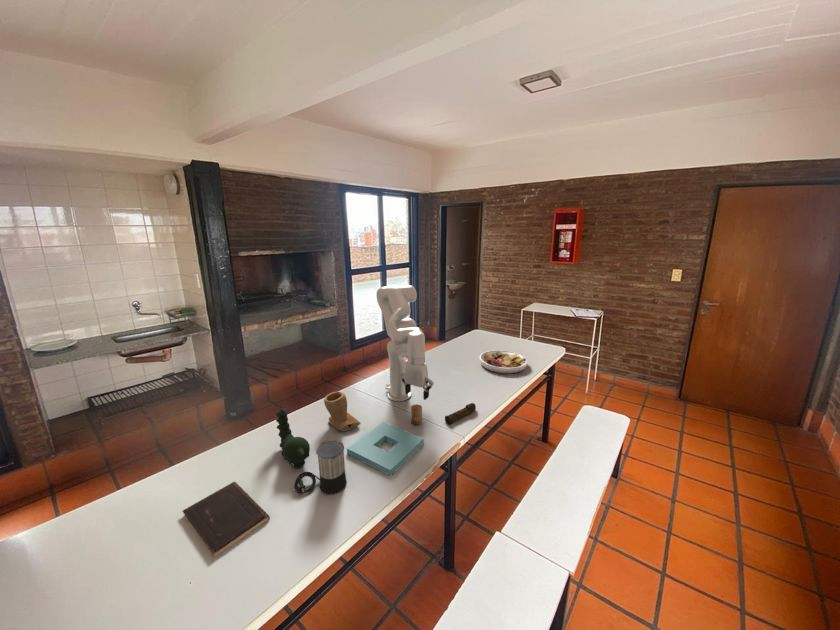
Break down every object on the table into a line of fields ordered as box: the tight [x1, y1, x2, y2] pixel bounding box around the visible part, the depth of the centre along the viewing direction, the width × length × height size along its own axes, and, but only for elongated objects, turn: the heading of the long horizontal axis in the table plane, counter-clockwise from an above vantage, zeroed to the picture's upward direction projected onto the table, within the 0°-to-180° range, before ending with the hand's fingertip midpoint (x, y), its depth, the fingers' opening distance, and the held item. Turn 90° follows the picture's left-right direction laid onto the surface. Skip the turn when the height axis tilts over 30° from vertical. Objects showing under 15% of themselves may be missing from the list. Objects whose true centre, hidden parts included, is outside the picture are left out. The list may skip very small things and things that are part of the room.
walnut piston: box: [410, 404, 423, 427], centre depth 152 cm, size 5×5×8 cm
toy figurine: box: [275, 408, 311, 469], centre depth 128 cm, size 9×19×25 cm
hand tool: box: [444, 402, 477, 425], centre depth 157 cm, size 19×4×5 cm, turn 126°
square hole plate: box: [346, 421, 425, 477], centre depth 135 cm, size 22×22×2 cm
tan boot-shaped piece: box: [323, 391, 361, 432], centre depth 150 cm, size 15×12×15 cm
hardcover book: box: [182, 481, 271, 558], centre depth 103 cm, size 16×23×2 cm
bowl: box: [479, 349, 528, 374], centre depth 215 cm, size 30×30×8 cm
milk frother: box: [293, 440, 348, 496], centre depth 114 cm, size 14×16×15 cm
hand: (416, 395), depth 148 cm, fingers open, 9 cm apart
